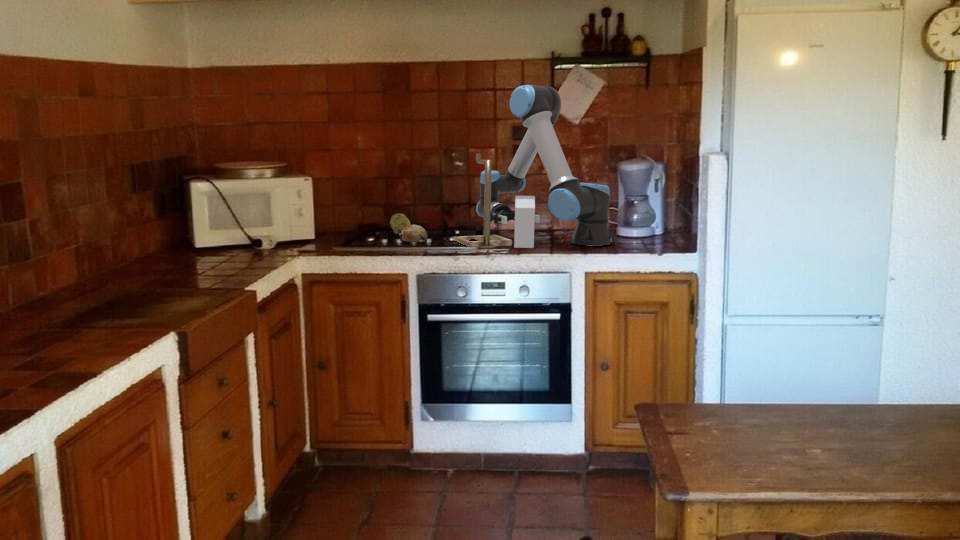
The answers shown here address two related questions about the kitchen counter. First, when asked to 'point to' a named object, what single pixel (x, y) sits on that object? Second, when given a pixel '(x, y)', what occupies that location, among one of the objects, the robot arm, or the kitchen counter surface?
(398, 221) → the green oval lump
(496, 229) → the kitchen counter surface
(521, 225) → the milk carton
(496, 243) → the shelf board
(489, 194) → the hook post
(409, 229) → the bread roll
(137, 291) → the kitchen counter surface
